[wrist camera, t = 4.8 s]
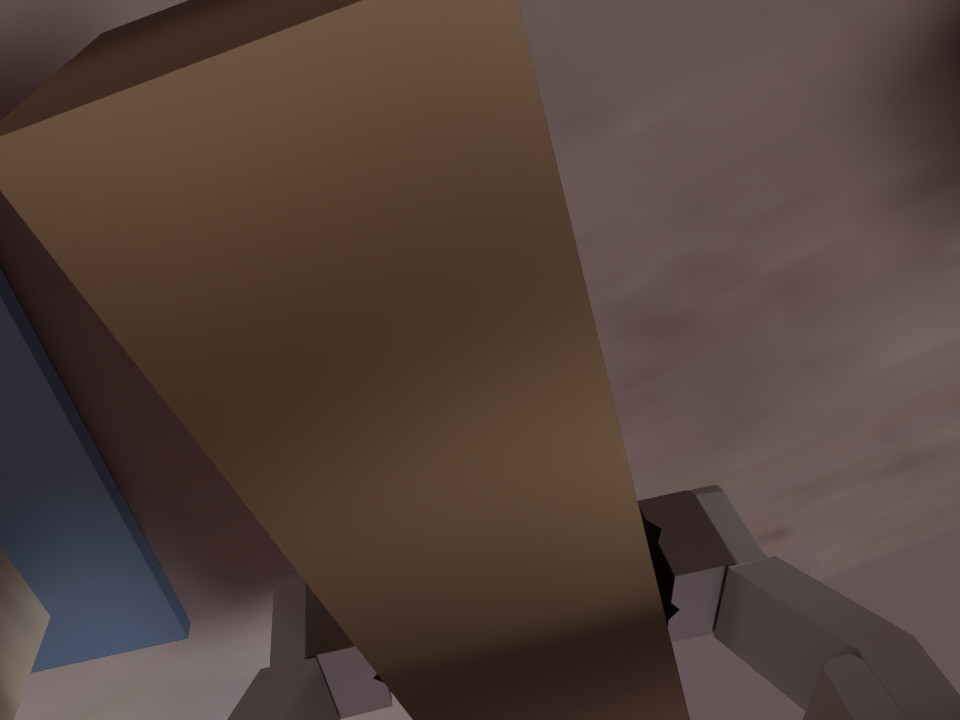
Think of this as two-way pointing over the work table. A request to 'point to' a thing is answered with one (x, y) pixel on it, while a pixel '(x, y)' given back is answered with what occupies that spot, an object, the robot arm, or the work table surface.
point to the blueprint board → (70, 516)
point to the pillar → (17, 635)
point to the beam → (368, 329)
